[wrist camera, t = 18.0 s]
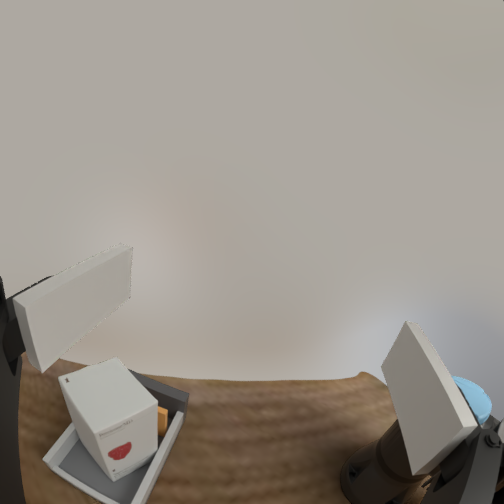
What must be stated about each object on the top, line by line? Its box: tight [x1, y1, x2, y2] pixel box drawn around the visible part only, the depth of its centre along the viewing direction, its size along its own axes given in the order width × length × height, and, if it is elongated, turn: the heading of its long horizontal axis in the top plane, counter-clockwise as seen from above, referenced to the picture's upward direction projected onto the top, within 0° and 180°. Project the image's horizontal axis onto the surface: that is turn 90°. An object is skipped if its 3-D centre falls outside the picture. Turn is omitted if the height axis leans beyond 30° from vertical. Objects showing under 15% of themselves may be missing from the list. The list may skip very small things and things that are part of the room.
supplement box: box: [58, 357, 158, 482], centre depth 26 cm, size 9×9×15 cm
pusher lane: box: [42, 369, 189, 504], centre depth 28 cm, size 22×14×7 cm, turn 171°
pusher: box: [157, 406, 168, 437], centre depth 33 cm, size 1×11×7 cm, turn 82°
